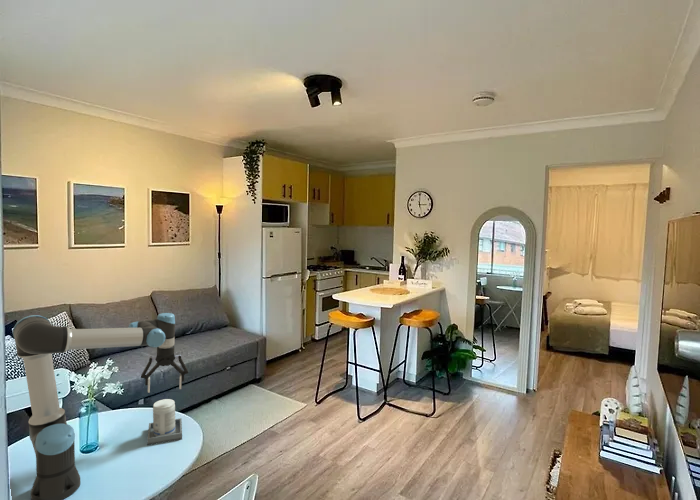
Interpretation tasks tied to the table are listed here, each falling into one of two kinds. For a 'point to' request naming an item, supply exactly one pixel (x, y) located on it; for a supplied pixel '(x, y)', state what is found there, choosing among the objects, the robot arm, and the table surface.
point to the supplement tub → (164, 417)
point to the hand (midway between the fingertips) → (164, 389)
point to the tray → (165, 438)
